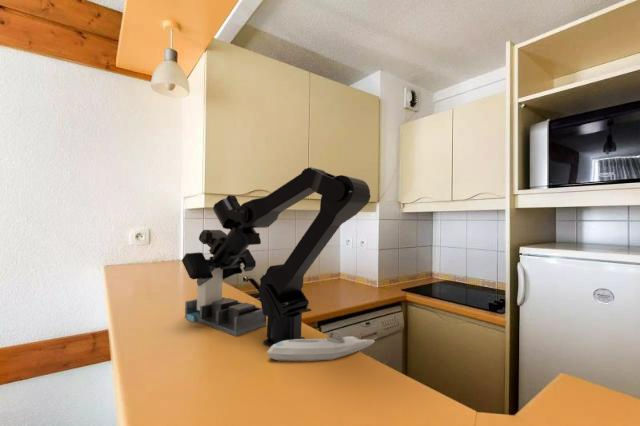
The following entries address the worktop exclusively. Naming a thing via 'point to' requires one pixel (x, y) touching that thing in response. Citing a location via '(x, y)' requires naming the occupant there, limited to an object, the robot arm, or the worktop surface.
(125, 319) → the worktop surface
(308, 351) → the white toy boat
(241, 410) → the worktop surface
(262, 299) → the robot arm
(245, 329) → the rack
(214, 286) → the white rectangular block
